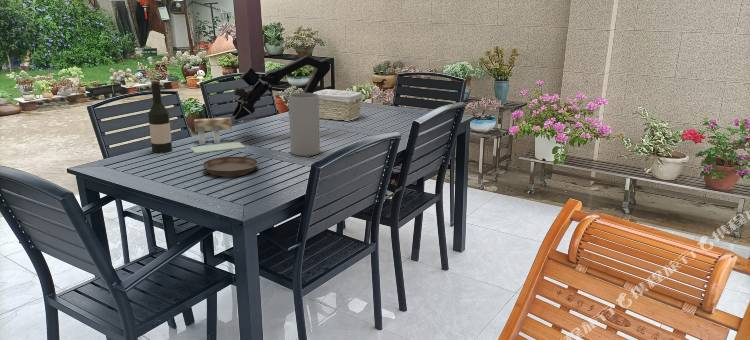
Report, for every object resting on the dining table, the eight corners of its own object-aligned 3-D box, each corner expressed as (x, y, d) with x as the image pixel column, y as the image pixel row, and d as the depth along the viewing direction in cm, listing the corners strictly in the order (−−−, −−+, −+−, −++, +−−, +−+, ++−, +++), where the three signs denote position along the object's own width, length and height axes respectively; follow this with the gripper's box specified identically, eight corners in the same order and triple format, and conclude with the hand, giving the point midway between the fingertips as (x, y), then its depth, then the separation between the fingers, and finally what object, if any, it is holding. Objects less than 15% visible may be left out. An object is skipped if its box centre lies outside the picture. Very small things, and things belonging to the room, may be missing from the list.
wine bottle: (165, 154, 236) (158, 83, 227) (148, 152, 238) (140, 82, 229) (176, 149, 244) (169, 80, 235) (159, 148, 245) (152, 79, 237)
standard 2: (218, 139, 262) (217, 122, 260) (220, 143, 255) (218, 126, 253) (213, 139, 261) (211, 122, 259) (214, 143, 254) (213, 126, 252)
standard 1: (204, 140, 260) (202, 123, 258) (205, 144, 253) (204, 126, 251) (198, 140, 259) (197, 123, 257) (199, 144, 252) (198, 127, 250)
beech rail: (230, 127, 261) (230, 117, 259) (231, 129, 257) (231, 118, 256) (195, 130, 255) (194, 119, 254) (195, 131, 252) (194, 120, 251)
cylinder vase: (314, 157, 234) (313, 98, 227) (286, 155, 236) (284, 96, 229) (323, 150, 246) (322, 93, 238) (296, 148, 248) (294, 92, 241)
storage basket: (363, 117, 314) (363, 91, 310) (349, 123, 300) (349, 96, 296) (326, 113, 324) (325, 88, 319) (311, 118, 310) (311, 92, 305)
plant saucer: (236, 160, 229) (235, 152, 228) (269, 170, 217) (268, 162, 216) (192, 171, 214) (191, 163, 213) (225, 182, 201) (224, 174, 200)
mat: (239, 142, 256) (239, 141, 256) (245, 147, 248) (245, 146, 247) (190, 148, 245) (190, 147, 245) (195, 153, 237) (195, 152, 237)
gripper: (241, 78, 263) (218, 102, 263) (246, 83, 246) (222, 109, 246) (258, 94, 268) (236, 118, 268) (264, 100, 251) (241, 126, 251)
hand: (233, 117), depth 258 cm, fingers open, 9 cm apart
